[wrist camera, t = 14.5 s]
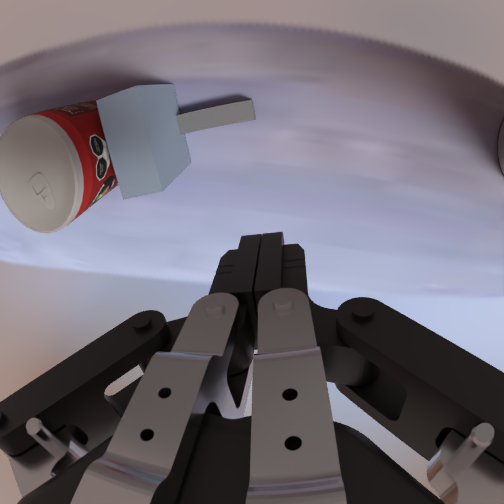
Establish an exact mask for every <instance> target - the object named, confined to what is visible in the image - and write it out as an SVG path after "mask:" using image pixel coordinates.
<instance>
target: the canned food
mask: <svg viewBox="0 0 504 504" xmlns="http://www.w3.org/2000/svg"><path fill="white" fill-rule="evenodd" d="M117 185H118V181H117V177H116V174H115V171H114V167H113V164H112V160H111V157H110V153H109V150H108V146H107V142H106V139H105V135H104V131H103V127H102V123H101V119H100V115H99V111H98V107H97V102H96V100H94V101H89V102H83V103H78V104H73V105H68V106H64V107H59V108H55V109H50V110H46V111H42V112H38V113H34V114H32V115H28V116H24V117H23V118H21V119H18V120H16V121H15V122H13V123H12V124H11V125H10V126H9V127H8V128H7V129H6V130H5V131H4V133H3V135H2V136H1V139H0V192H1V195H2V197H3V199H4V201H5V203H6V205H7V207H8V208H9V210H10V211H11V213H12V214H13V215H14V216H15V217H16V218H17V219H18V220H19V221H20V222H21V223H22V224H24V225H25V226H26V227H28V228H30V229H32V230H34V231H37V232H40V233H52V232H56V231H58V230H60V229H62V228H63V227H65V226H67V225H68V224H70V223H71V222H72V221H73V220H74V219H76V218H77V217H78V216H80V215H81V214H82V213H83V212H84V211H86V210H87V209H88V208H89V207H90V206H92V205H93V204H94V203H95V202H97V201H98V200H99V199H100V198H102V197H103V196H104V195H106V194H107V193H108V192H109V191H111V190H112V189H113V188H115V187H116V186H117Z"/></svg>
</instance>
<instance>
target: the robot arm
mask: <svg viewBox="0 0 504 504" xmlns="http://www.w3.org/2000/svg"><path fill="white" fill-rule="evenodd" d="M498 157H499V163H500V167H501V170H502V172H503V174H504V121H503V123H502V126H501V129H500V133H499V139H498ZM256 349H258V353H257V354H254V350H256ZM253 355H254V357H253ZM252 360H253V361H252ZM138 364H139V366H140V368H141V369H142V371H143V373H144V374H143V375H142V376H141V377H139V378H138V379H136V380H135V381H134V382H132V383H131V384H129V385H128V386H126V387H125V388H123V389H122V390H121V391H119V392H118V393H116V394H115V395H112V396H107V395H105V394H104V392H105V389H106V388H107V386H108V385H109V384H111V383H112V382H113V381H115V380H117V379H118V378H120V377H121V376H122V375H124V374H125V373H127V372H128V371H130V370H131V369H133V368H134V367H136V366H137V365H138ZM252 375H253V383H252V416H248V417H243V416H244V410H245V406H246V402H247V397H248V393H249V388H250V384H251V379H252ZM326 381H328V382H333V383H335V384H336V387H337V388H338V390H339V391H340V392H341V393H342V394H344V395H345V396H346V397H347V398H348V399H350V400H351V401H352V402H353V403H355V404H356V405H357V406H358V407H360V408H361V409H362V410H363V411H364V412H366V413H367V414H368V415H369V416H371V417H372V418H373V419H375V420H376V421H377V422H378V423H380V424H381V425H382V426H383V427H385V428H386V429H387V430H389V431H390V432H391V433H393V434H394V435H395V436H396V437H398V438H399V439H400V440H401V441H403V442H404V443H405V444H407V445H408V446H409V447H411V448H412V449H413V450H415V451H416V452H417V453H419V454H420V455H421V456H423V457H424V458H425V459H427V460H428V461H429V463H428V466H427V478H428V481H429V483H430V485H431V486H432V487H433V488H434V489H435V490H436V491H437V493H438V494H439V496H440V499H441V500H440V499H439V498H438V497H437V496H435V495H434V494H432V492H430V491H429V490H428V489H427V488H425V487H424V486H423V485H422V484H421V483H419V482H418V481H417V480H416V479H415V478H413V477H412V476H411V475H410V474H409V473H408V472H406V471H405V470H404V469H403V468H402V467H401V466H399V465H398V464H397V463H396V462H395V461H394V460H392V459H391V458H390V457H389V456H388V455H387V454H385V453H384V452H383V451H382V450H381V449H380V448H379V447H378V446H377V445H375V444H374V443H373V442H372V441H371V440H370V439H369V438H367V437H366V436H365V435H363V434H362V433H360V432H359V431H357V430H355V429H353V428H351V427H349V426H347V425H344V424H341V423H337V422H334V421H333V419H332V413H331V406H330V400H329V394H328V388H327V383H326ZM0 449H1V450H3V452H4V453H5V454H6V455H7V456H8V457H9V461H10V464H11V467H12V470H13V473H14V476H15V479H16V481H17V484H18V487H19V490H20V492H21V495H22V497H23V498H22V499H21V500H20V501H19V502H18V503H17V504H504V373H503V372H502V371H500V370H498V369H497V368H495V367H493V366H491V365H490V364H488V363H486V362H485V361H483V360H481V359H479V358H478V357H476V356H474V355H473V354H471V353H469V352H468V351H466V350H464V349H462V348H460V347H459V346H457V345H455V344H454V343H452V342H450V341H449V340H447V339H445V338H443V337H441V336H440V335H438V334H436V333H435V332H433V331H431V330H429V329H427V328H426V327H424V326H422V325H421V324H419V323H417V322H415V321H414V320H412V319H410V318H408V317H406V316H405V315H403V314H401V313H399V312H398V311H396V310H394V309H392V308H390V307H389V306H387V305H385V304H383V303H382V302H380V301H378V300H375V299H372V298H367V297H358V298H353V299H350V300H347V301H345V302H344V303H342V304H341V305H340V307H339V308H338V310H334V309H328V308H324V307H321V306H319V305H317V304H315V303H314V302H313V301H311V299H310V298H309V296H308V289H307V276H306V265H305V254H304V250H303V249H302V247H301V246H300V245H299V244H288V245H284V238H283V232H276V233H265V234H256V235H246V236H241V240H240V243H239V247H238V249H236V250H229V251H228V252H227V253H226V254H224V255H223V256H222V257H221V259H220V262H219V265H218V268H217V271H216V275H215V277H214V280H213V283H212V286H211V289H210V292H209V295H207V296H204V297H202V298H201V299H199V300H198V301H197V302H196V303H195V304H194V305H193V307H192V309H191V311H190V313H189V315H188V316H187V317H184V318H180V319H177V320H173V321H169V322H166V319H165V317H164V315H163V314H162V313H160V312H158V311H154V310H148V311H143V312H140V313H137V314H135V315H134V316H132V317H130V318H129V319H127V320H126V321H124V322H123V323H121V324H119V325H118V326H116V327H115V328H113V329H112V330H110V331H108V332H107V333H105V334H104V335H102V336H101V337H100V338H98V339H96V340H95V341H93V342H91V343H90V344H88V345H87V346H85V347H84V348H82V349H81V350H79V351H78V352H76V353H75V354H73V355H71V356H70V357H68V358H67V359H65V360H64V361H62V362H61V363H59V364H57V365H56V366H54V367H53V368H51V369H50V370H49V371H47V372H45V373H44V374H42V375H41V376H39V377H38V378H36V379H35V380H33V381H31V382H30V383H28V384H27V385H25V386H24V387H22V388H21V389H19V390H18V391H16V392H15V393H13V394H12V395H10V396H9V397H7V398H6V399H5V400H3V401H1V402H0Z"/></svg>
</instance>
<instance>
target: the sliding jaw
mask: <svg viewBox="0 0 504 504" xmlns="http://www.w3.org/2000/svg"><path fill="white" fill-rule="evenodd" d="M96 102H97V107H98V111H99V115H100V119H101V123H102V127H103V131H104V135H105V139H106V142H107V146H108V150H109V153H110V157H111V160H112V164H113V167H114V171H115V174H116V177H117V181H118V184H119V187H120V190H121V193H122V197H123V200H124V199H128V198H133V197H137V196H142V195H146V194H151V193H156V192H161V191H164V190H165V189H166V187H167V186H168V185H169V184H170V183H171V182H172V181H173V180H174V179H175V178H176V177H177V176H178V175H179V174H180V173H181V172H182V171H183V170H184V169H185V168H186V167H187V166H188V165H189V164H190V163H191V159H190V154H189V150H188V146H187V142H186V137H185V133H189V132H193V131H198V130H203V129H207V128H212V127H217V126H222V125H228V124H233V123H239V122H244V121H250V120H255V119H256V117H255V111H254V106H253V101H252V99H251V100H245V101H240V102H234V103H229V104H224V105H219V106H214V107H209V108H205V109H200V110H196V111H191V112H187V113H183V114H180V111H179V107H178V102H177V98H176V93H175V89H174V84H157V85H138V86H134V87H131V88H128V89H125V90H122V91H120V92H117V93H114V94H112V95H109V96H106V97H104V98H101V99H99V100H96Z"/></svg>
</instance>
